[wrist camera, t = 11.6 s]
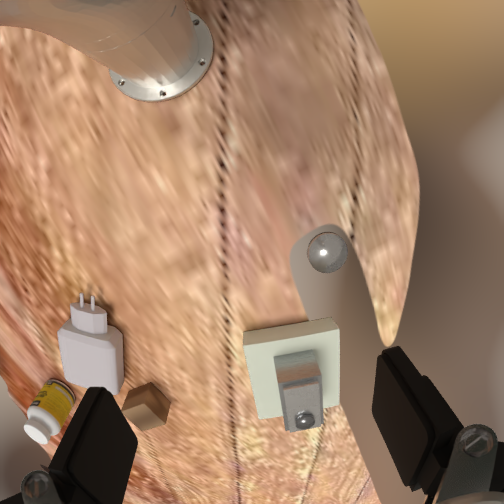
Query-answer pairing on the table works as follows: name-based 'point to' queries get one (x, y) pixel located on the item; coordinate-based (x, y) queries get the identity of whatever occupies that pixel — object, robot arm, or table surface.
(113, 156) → the table surface
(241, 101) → the table surface
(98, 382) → the charger
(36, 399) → the pill bottle
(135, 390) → the walnut block
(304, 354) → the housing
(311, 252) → the grey disc
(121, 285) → the table surface
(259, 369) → the stand
